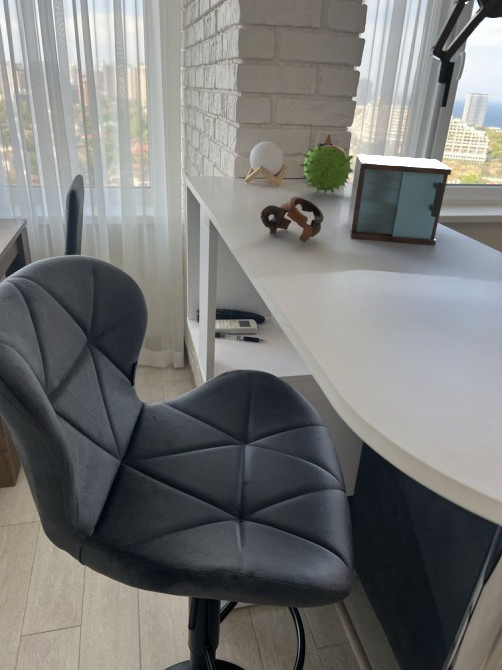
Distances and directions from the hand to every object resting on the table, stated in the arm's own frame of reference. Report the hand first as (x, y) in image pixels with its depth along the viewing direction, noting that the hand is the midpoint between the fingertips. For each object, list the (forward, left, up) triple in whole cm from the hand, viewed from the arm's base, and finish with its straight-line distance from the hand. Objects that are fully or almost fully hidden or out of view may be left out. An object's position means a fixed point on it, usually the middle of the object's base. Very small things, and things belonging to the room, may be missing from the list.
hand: (478, 108), depth 83 cm
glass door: (+6, -2, -23) cm, 24 cm away
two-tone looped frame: (+29, 0, -24) cm, 38 cm away
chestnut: (+22, -47, -24) cm, 58 cm away
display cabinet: (+9, -10, -24) cm, 28 cm away
